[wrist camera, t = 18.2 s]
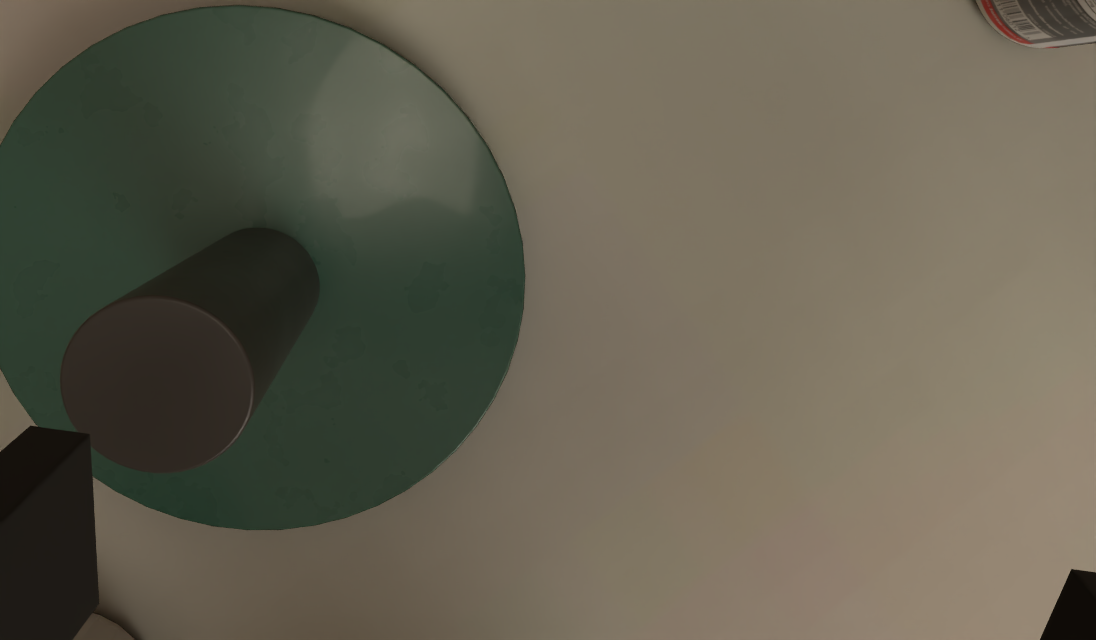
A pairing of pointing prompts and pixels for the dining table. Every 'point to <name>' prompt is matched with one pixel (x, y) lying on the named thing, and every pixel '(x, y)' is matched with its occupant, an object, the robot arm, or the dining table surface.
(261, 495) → the pot lid
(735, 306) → the dining table surface
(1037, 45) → the pill bottle
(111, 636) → the coffee cup
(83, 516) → the robot arm
